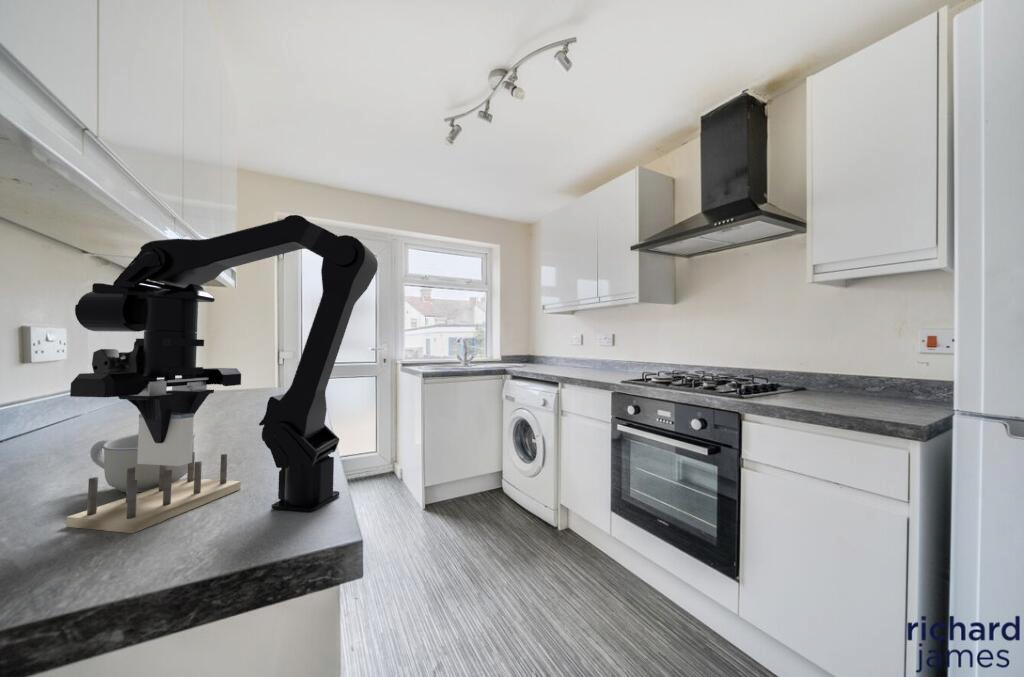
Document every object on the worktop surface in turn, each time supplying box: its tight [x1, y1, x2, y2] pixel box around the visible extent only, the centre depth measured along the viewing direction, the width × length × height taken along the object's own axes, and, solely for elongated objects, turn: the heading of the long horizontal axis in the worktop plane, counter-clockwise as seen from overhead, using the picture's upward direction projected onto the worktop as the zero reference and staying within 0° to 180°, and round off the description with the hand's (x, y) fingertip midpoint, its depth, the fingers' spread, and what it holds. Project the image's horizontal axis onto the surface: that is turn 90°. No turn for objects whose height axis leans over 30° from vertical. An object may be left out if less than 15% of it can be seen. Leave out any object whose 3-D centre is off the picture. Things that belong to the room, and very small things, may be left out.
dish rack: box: [65, 451, 242, 534], centre depth 54 cm, size 10×15×6 cm, turn 171°
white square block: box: [137, 413, 195, 466], centre depth 54 cm, size 7×2×7 cm, turn 81°
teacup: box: [89, 432, 196, 494], centre depth 62 cm, size 14×11×8 cm
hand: (167, 441), depth 54 cm, fingers closed on white square block, 2 cm apart
